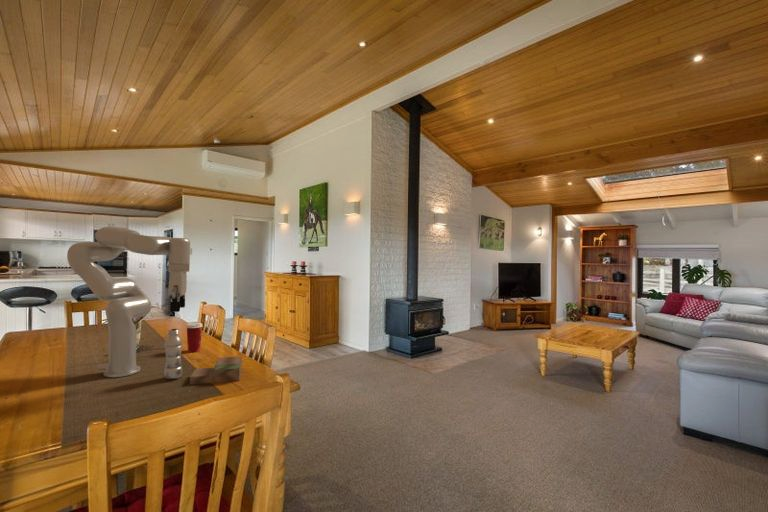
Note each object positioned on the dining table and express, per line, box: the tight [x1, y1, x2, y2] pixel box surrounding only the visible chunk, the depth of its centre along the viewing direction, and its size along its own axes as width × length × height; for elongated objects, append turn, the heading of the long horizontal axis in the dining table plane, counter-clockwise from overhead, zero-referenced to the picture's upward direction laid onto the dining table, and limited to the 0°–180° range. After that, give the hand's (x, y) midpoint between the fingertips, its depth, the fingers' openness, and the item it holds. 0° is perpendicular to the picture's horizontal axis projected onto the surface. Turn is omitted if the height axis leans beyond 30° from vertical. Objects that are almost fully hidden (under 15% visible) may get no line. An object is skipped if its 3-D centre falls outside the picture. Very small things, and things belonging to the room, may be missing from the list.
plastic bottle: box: [163, 328, 183, 380], centre depth 147 cm, size 6×7×20 cm
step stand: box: [189, 356, 243, 386], centre depth 148 cm, size 18×10×7 cm, turn 107°
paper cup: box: [185, 322, 203, 353], centre depth 186 cm, size 8×8×14 cm
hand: (177, 309), depth 148 cm, fingers open, 9 cm apart
